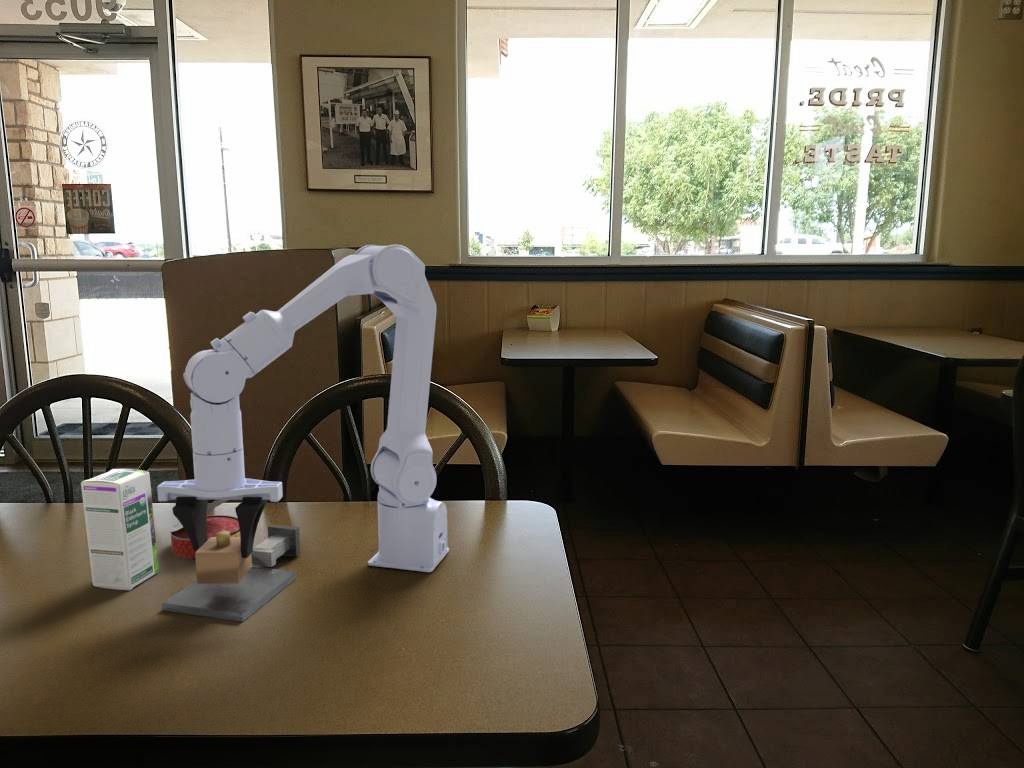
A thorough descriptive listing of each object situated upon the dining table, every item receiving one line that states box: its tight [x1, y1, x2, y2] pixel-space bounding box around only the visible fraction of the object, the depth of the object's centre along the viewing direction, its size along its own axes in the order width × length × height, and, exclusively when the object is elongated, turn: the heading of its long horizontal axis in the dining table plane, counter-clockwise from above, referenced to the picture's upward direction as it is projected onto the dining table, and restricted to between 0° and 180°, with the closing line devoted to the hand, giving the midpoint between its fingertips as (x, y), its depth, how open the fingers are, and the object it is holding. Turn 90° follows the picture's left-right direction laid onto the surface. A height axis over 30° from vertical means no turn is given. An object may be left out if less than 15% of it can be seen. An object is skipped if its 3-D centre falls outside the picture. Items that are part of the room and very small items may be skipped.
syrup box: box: [80, 468, 160, 591], centre depth 96 cm, size 6×6×14 cm
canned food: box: [169, 500, 240, 559], centre depth 108 cm, size 11×10×10 cm
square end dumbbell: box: [251, 523, 301, 568], centre depth 102 cm, size 4×7×4 cm, turn 166°
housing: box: [195, 531, 253, 584], centre depth 91 cm, size 5×5×6 cm
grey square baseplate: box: [161, 565, 297, 623], centre depth 93 cm, size 11×12×1 cm
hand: (224, 554), depth 91 cm, fingers closed on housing, 5 cm apart
